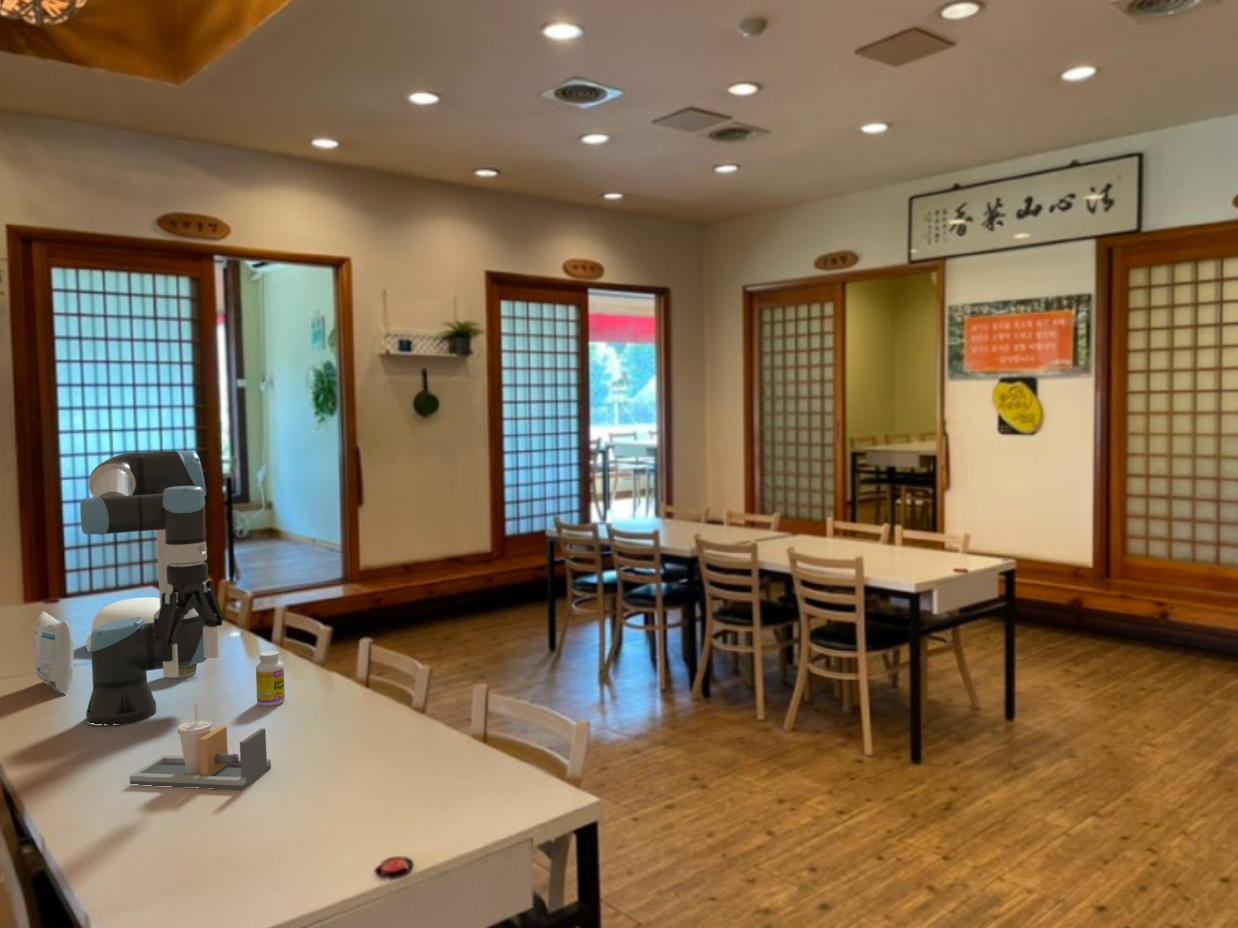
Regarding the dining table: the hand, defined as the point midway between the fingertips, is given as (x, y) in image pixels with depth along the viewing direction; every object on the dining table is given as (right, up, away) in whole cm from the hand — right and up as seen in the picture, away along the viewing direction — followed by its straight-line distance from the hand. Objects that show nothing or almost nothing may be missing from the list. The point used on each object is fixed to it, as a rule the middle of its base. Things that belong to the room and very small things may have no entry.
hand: (191, 667), depth 187 cm
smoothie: (+1, -22, +1) cm, 22 cm away
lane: (+2, -23, +1) cm, 23 cm away
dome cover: (-69, -17, +112) cm, 133 cm away
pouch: (-66, -20, +63) cm, 94 cm away
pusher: (+6, -21, 0) cm, 22 cm away
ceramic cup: (-36, -19, +75) cm, 85 cm away
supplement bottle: (-2, -20, +48) cm, 52 cm away
